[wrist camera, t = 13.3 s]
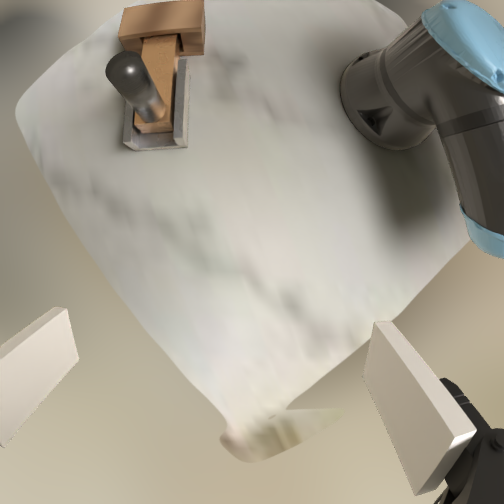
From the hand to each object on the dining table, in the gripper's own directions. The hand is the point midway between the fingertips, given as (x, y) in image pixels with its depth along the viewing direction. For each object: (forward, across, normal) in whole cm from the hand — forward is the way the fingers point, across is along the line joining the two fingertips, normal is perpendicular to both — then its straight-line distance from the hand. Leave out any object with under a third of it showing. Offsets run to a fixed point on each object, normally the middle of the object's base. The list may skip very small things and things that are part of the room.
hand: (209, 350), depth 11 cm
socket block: (+28, -11, +27) cm, 40 cm away
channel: (+26, -11, +16) cm, 33 cm away
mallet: (+26, -11, +20) cm, 34 cm away
